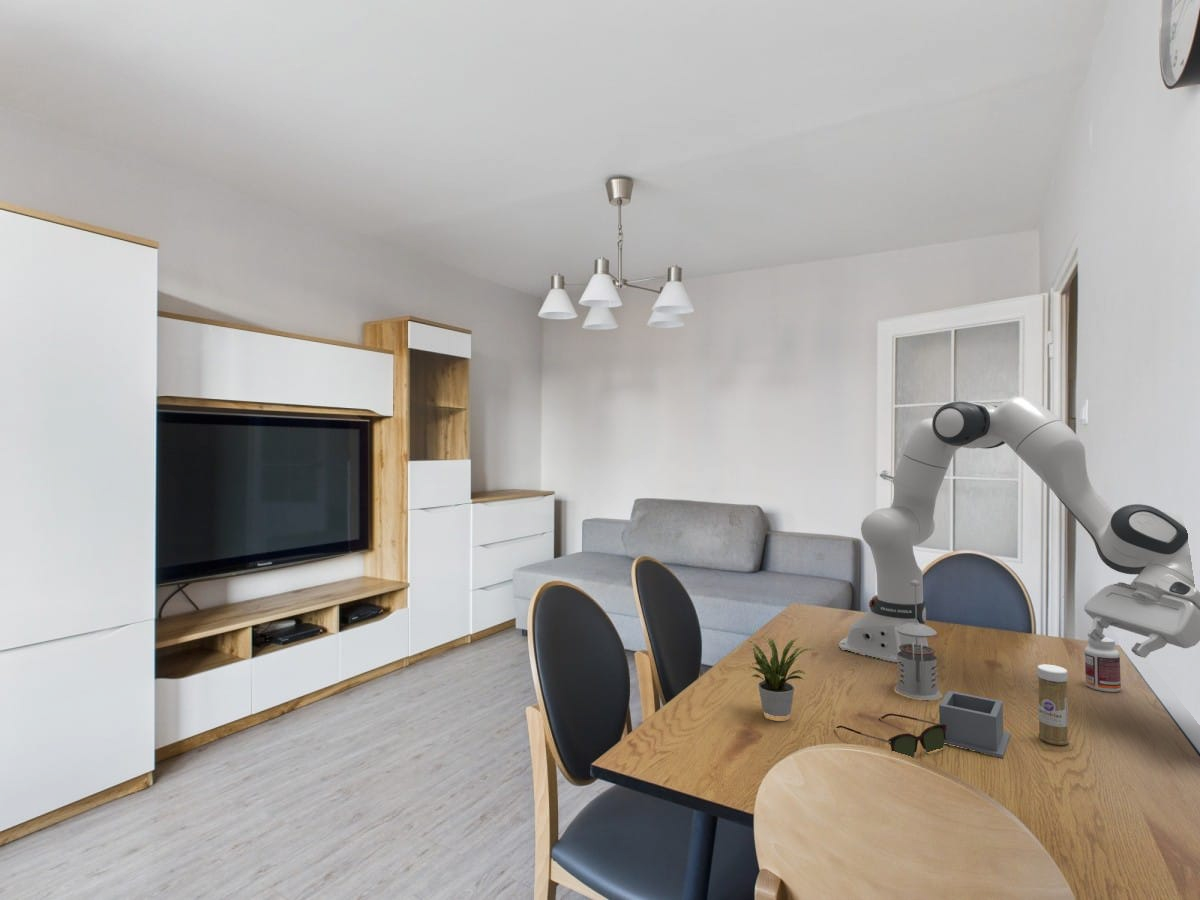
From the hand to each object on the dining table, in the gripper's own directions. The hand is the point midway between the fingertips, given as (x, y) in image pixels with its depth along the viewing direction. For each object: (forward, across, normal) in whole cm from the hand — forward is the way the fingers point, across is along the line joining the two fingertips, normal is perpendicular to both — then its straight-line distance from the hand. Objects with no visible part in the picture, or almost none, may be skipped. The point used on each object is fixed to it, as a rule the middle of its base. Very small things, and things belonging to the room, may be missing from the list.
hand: (1114, 646), depth 117 cm
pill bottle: (-1, -24, +25) cm, 34 cm away
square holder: (+31, -2, -7) cm, 31 cm away
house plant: (+53, -15, -29) cm, 62 cm away
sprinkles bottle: (+21, 0, +4) cm, 21 cm away
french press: (+29, -24, -5) cm, 38 cm away
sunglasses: (+42, -3, -17) cm, 46 cm away
